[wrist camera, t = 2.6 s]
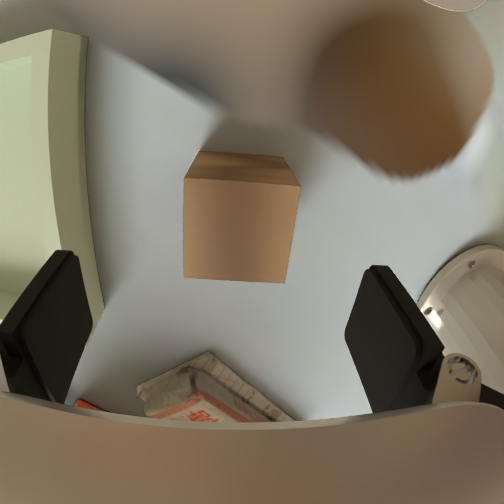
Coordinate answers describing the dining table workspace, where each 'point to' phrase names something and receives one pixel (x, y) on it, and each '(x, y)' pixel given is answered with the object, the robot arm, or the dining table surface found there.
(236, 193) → the walnut block
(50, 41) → the bin
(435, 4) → the purple plaid hat
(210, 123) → the dining table surface
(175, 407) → the packaged product
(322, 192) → the dining table surface
